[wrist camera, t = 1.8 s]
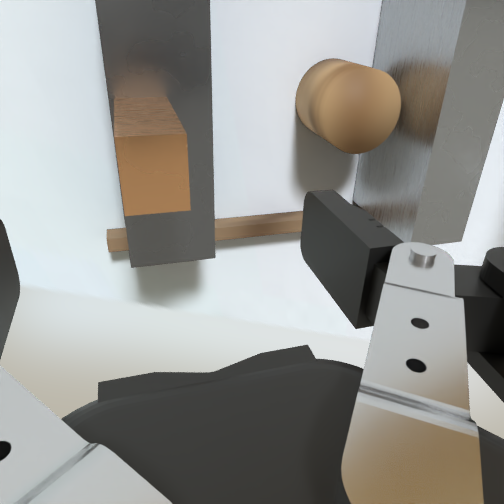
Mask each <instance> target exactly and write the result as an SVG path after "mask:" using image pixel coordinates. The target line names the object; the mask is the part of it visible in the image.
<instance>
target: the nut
mask: <svg viewBox="0 0 504 504" xmlns="http://www.w3.org/2000/svg"><path fill="white" fill-rule="evenodd" d="M400 109H401V97H400V92H399V89H398V86H397V84H396V82H395V81H394V80H393V78H392V77H391V76H390V75H388V74H387V73H385V72H384V71H381V70H378V69H374V68H371V67H367V66H363V65H360V64H356V63H352V62H348V61H345V60H341V59H326V60H323V61H320V62H319V63H317V64H315V65H314V66H312V67H311V68H310V69H309V70H308V71H307V72H306V73H305V75H304V76H303V78H302V79H301V81H300V83H299V86H298V89H297V93H296V110H297V114H298V116H299V118H300V120H301V122H302V123H303V124H304V125H305V126H306V127H307V128H308V129H310V130H311V131H313V132H314V133H316V134H317V135H319V136H320V137H322V138H323V139H325V140H326V141H328V142H329V143H331V144H332V145H334V146H335V147H337V148H338V149H340V150H342V151H344V152H346V153H351V154H360V153H365V152H368V151H370V150H373V149H374V148H376V147H378V146H379V145H380V144H382V143H383V142H384V141H385V140H386V139H387V138H388V136H389V135H390V134H391V132H392V131H393V129H394V128H395V125H396V123H397V121H398V118H399V114H400Z"/></svg>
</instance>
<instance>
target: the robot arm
mask: <svg viewBox="0 0 504 504" xmlns="http://www.w3.org/2000/svg"><path fill="white" fill-rule="evenodd" d="M301 252H302V256H303V258H304V260H305V262H306V263H307V265H308V266H309V267H310V269H311V270H312V271H313V273H314V274H315V275H316V277H317V278H318V279H319V281H320V282H321V283H322V285H323V286H324V287H325V289H326V290H327V291H328V293H329V294H330V295H331V297H332V298H333V299H334V301H335V302H336V303H337V305H338V306H339V307H340V309H341V310H342V311H343V313H344V314H345V315H346V317H347V318H348V319H349V321H350V322H351V323H352V325H353V326H354V327H355V329H358V328H364V327H370V326H374V327H373V332H372V336H371V340H370V345H369V349H368V353H367V357H366V362H365V366H364V369H362V368H360V367H357V366H354V365H351V364H347V363H343V362H339V361H334V360H326V359H316V358H315V357H314V355H313V353H312V351H311V350H310V348H309V346H308V345H303V346H298V347H292V348H287V349H281V350H276V351H270V352H265V353H260V354H257V355H255V356H252V357H250V358H247V359H245V360H243V361H240V362H238V363H235V364H233V365H230V366H228V367H225V368H223V369H220V370H218V371H215V372H210V373H185V372H176V373H175V372H154V373H148V374H142V375H137V376H131V377H126V378H121V379H115V380H109V381H103V382H99V383H98V400H96V401H93V402H91V403H89V404H87V405H85V406H83V407H81V408H79V409H77V410H75V411H73V412H72V413H70V414H69V415H67V416H65V417H63V418H62V419H60V418H59V417H57V415H55V414H54V413H53V412H52V411H51V410H50V409H49V408H48V407H46V406H45V405H44V404H43V403H42V402H41V401H39V399H38V398H36V397H35V396H34V395H33V394H32V393H31V392H29V391H28V390H27V389H26V388H25V387H24V386H23V385H22V384H21V383H19V382H18V381H17V380H16V379H15V378H14V377H13V376H12V375H11V374H9V373H8V372H7V371H6V370H5V369H4V368H2V366H0V504H504V439H502V438H500V437H498V436H496V435H494V434H492V433H490V432H488V431H486V430H484V429H482V428H481V427H479V426H477V425H476V423H475V421H473V420H472V419H471V417H470V407H469V389H468V370H467V362H468V363H469V364H470V365H471V367H472V368H473V369H474V370H475V371H476V372H477V373H478V374H479V376H480V377H481V378H482V379H483V380H484V381H485V382H486V383H487V384H488V386H489V387H490V388H491V389H492V390H493V391H494V392H495V393H496V394H497V396H498V397H499V398H500V399H501V400H502V401H503V402H504V247H497V248H493V249H490V250H488V251H487V253H486V256H485V259H484V262H483V265H482V266H468V265H454V260H453V258H452V257H451V256H450V254H448V253H447V252H446V251H444V250H442V249H440V248H438V247H435V246H432V245H429V244H424V243H418V242H407V243H404V242H403V241H402V240H401V239H400V238H398V237H397V236H396V235H395V234H394V233H392V232H391V231H390V230H389V229H387V228H386V227H384V225H383V224H381V223H380V222H379V221H378V220H376V219H375V218H374V217H373V216H372V215H370V214H369V213H368V212H367V211H365V210H363V209H361V208H359V207H356V206H354V205H352V204H349V203H348V202H347V201H346V200H345V199H344V198H342V197H341V196H340V195H339V194H338V193H337V192H335V191H334V190H325V191H313V192H308V193H307V194H306V196H305V199H304V208H303V219H302V230H301ZM19 295H20V282H19V275H18V271H17V268H16V264H15V261H14V257H13V254H12V250H11V247H10V243H9V240H8V236H7V233H6V229H5V226H4V224H3V222H2V220H1V219H0V359H1V355H2V352H3V349H4V345H5V342H6V338H7V335H8V332H9V329H10V325H11V322H12V319H13V316H14V312H15V309H16V306H17V302H18V299H19Z"/></svg>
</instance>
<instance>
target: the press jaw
mask: <svg viewBox="0 0 504 504" xmlns="http://www.w3.org/2000/svg"><path fill="white" fill-rule="evenodd" d="M95 2H96V9H97V17H98V24H99V31H100V39H101V46H102V54H103V61H104V69H105V76H106V84H107V91H108V98H109V106H110V113H111V121H112V128H113V136H114V143H115V151H116V158H117V165H118V173H119V180H120V188H121V195H122V203H123V210H124V217H125V225H126V232H127V240H128V247H129V255H130V262H131V268H134V267H142V266H151V265H159V264H168V263H176V262H185V261H193V260H202V259H210V258H215V216H214V169H213V123H212V76H211V30H210V0H95Z"/></svg>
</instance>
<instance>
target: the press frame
mask: <svg viewBox="0 0 504 504" xmlns="http://www.w3.org/2000/svg"><path fill="white" fill-rule="evenodd" d="M356 207H359V208H361V207H360V206H356ZM361 209H362V208H361ZM363 210H364V209H363ZM302 219H303V211H297V212H286V213H276V214H265V215H255V216H244V217H234V218H224V219H215V241H218V240H228V239H237V238H246V237H255V236H265V235H274V234H283V233H292V232H301V230H302ZM107 244H108V250H109V252H116V251H125V250H129V247H128V240H127V232H126V228H119V229H109V230H107Z"/></svg>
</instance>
